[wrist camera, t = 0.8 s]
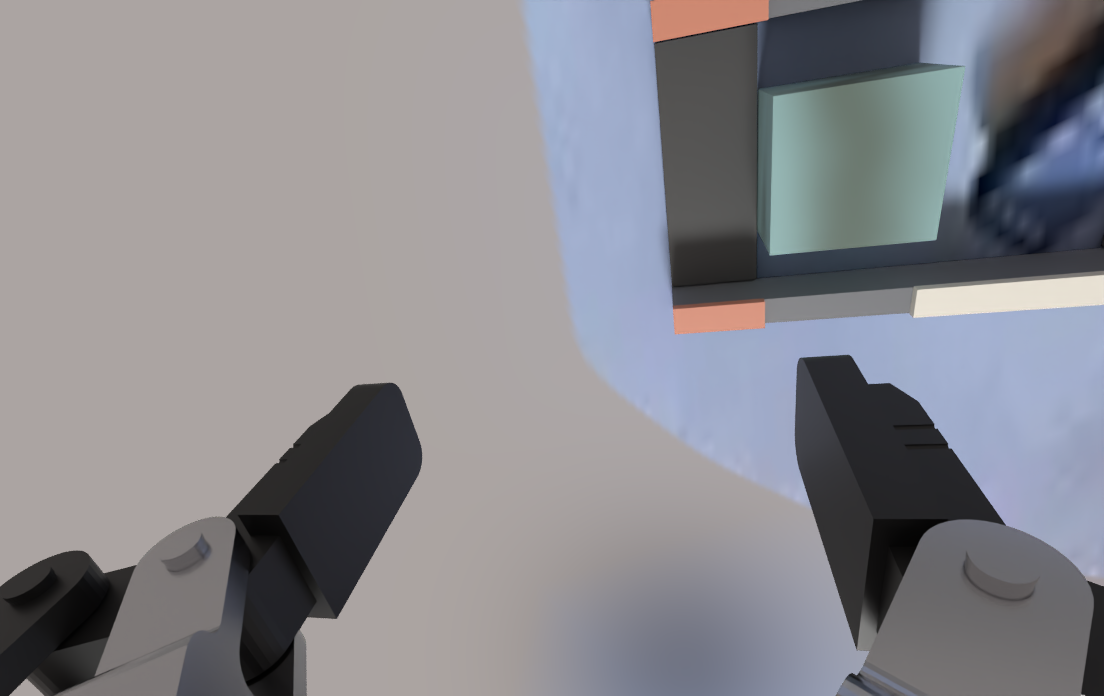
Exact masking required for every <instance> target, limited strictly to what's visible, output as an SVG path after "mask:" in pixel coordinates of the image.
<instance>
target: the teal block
mask: <svg viewBox="0 0 1104 696" xmlns="http://www.w3.org/2000/svg"><path fill="white" fill-rule="evenodd" d="M964 71H965V66H956V65H942V64H928V63H915V64H909V65H903V66H897V67H890V68H884V69H878V70H872V71H866V72H859V73H853V74H847V75H841V76H835V77H828V78H822V79H816V80H810V81H804V82H797V83H791V84H785V85H779V86H772V87H766V88H760V89H758V99H757V231H758V233H759V235H760V237H761V239H762V241H763V243H764V245H765V247H766V249H767V251H768V253H769V255H781V254H792V253H803V252H814V251H824V250H835V249H846V248H857V247H868V246H878V245H889V244H900V243H911V242H922V241H932V240H936V239H937V233H938V227H939V221H940V215H941V209H942V203H943V197H944V191H945V185H946V179H947V173H948V167H949V161H950V155H951V149H952V143H953V137H954V131H955V125H956V119H957V113H958V107H959V101H960V95H961V89H962V83H963V77H964Z"/></svg>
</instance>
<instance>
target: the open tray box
mask: <svg viewBox="0 0 1104 696" xmlns="http://www.w3.org/2000/svg"><path fill="white" fill-rule="evenodd" d="M857 1H862V0H654V1H650V3H651V17H652V31H653V42H658V41H663V40H668V39H673V38H678V37H683V36H688V35H694V34H699V33H704V32H709V31H714V30H719V29H724V28H729V27H735V26H740V25H745V24H750V23H755V22H760V21H765V20H768V19H770V18H775V17H780V16H785V15H790V14H795V13H800V12H805V11H810V10H816V9H821V8H826V7H831V6H836V5H841V4H846V3H851V2H857ZM654 45H655V58H656V72H657V86H658V99H659V113H660V127H661V140H662V154H663V168H664V181H665V195H666V209H667V222H668V236H669V250H670V264H671V277H672V293H673V315H674V329H675V334H686V333H700V332H715V331H729V330H744V329H758V328H765V323H773V322H787V321H801V320H815V319H829V318H843V317H857V316H871V315H885V314H900V313H910V315H911V316H912V317H913V318H918V317H932V316H947V315H961V314H976V313H990V312H1005V311H1019V310H1034V309H1048V308H1063V307H1077V306H1092V305H1104V248H1093V249H1082V250H1071V251H1059V252H1048V253H1037V254H1026V255H1015V256H1003V257H992V258H981V259H970V260H959V261H948V262H936V263H925V264H914V265H903V266H892V267H881V268H869V269H858V270H847V271H836V272H825V273H814V274H802V275H791V276H780V277H769V278H758V279H756V264H757V24H753V25H748V26H743V27H738V28H733V29H728V30H723V31H717V32H712V33H707V34H702V35H697V36H692V37H687V38H681V39H676V40H671V41H666V42H661V43H656V44H654ZM1101 246H1103V247H1104V237H1103V240H1102V244H1101Z"/></svg>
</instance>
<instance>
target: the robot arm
mask: <svg viewBox="0 0 1104 696" xmlns="http://www.w3.org/2000/svg"><path fill="white" fill-rule="evenodd" d="M795 446H796V455H797V461H798V465H799V469H800V473H801V476H802V479H803V482H804V485H805V489H806V492H807V495H808V498H809V501H810V504H811V508H812V511H813V514H814V517H815V520H816V523H817V526H818V529H819V532H820V536H821V539H822V542H823V545H824V548H825V552H826V555H827V558H828V561H829V564H830V567H831V570H832V574H833V577H834V580H835V583H836V586H837V589H838V593H839V596H840V599H841V602H842V605H843V608H844V611H845V614H846V618H847V621H848V624H849V627H850V630H851V633H852V637H853V640H854V643H855V646H856V649H857V650H860V651H870V652H869V654H868V656H867V658H866V660H865V663H864V665H863V667H862V668H861V670H860V672H859V674H858V675H857V676H856V675H855V674H853V673H851V674H849V675H848V676H847V678H846V679H845V680H844V682H843V683H842V685H841V687H840V688H839V690H838V692H837V694H836V696H1104V586H1100V585H1098V584H1095V583H1092V582H1089V581H1087V580H1086V579H1085V577H1084V576H1083V574H1082V573H1081V572H1080V571H1079V570H1078V568H1077V567H1076V566H1075V565H1074V564H1073V563H1072V562H1071V561H1070V560H1069V559H1067V558H1066V557H1065V556H1064V555H1063V554H1061V553H1060V552H1059V551H1057V550H1056V549H1055V548H1053V547H1051V546H1050V545H1048V544H1047V543H1045V542H1043V541H1042V540H1040V539H1038V538H1036V537H1034V536H1032V535H1030V534H1027V533H1025V532H1022V531H1020V530H1017V529H1015V528H1012V527H1009V526H1006V525H1005V523H1004V522H1003V521H1002V519H1001V518H1000V516H999V515H998V513H997V512H996V511H995V509H994V508H993V506H992V505H991V504H990V502H989V501H988V499H987V498H986V497H985V495H984V494H983V492H982V491H981V489H980V488H979V487H978V485H977V484H976V482H975V481H974V480H973V478H972V477H971V475H970V474H969V473H968V471H967V470H966V468H965V467H964V465H963V464H962V463H961V461H960V460H959V458H958V457H957V456H956V454H955V453H954V451H953V450H952V449H949V448H948V443H947V441H946V440H945V439H944V437H943V436H942V434H941V433H940V432H939V430H938V429H935V428H934V423H933V422H932V420H931V419H930V417H929V416H928V415H927V413H926V412H925V410H924V409H923V408H922V406H921V405H920V403H919V402H918V401H917V400H915V399H914V398H912V397H910V396H909V395H907V394H906V393H904V392H903V391H901V390H900V389H898V388H896V387H895V386H893V385H892V384H890V383H884V384H868V383H867V382H866V380H865V378H864V377H863V375H862V373H861V371H860V370H859V368H858V366H857V365H856V363H855V361H854V360H853V358H852V357H851V356H850V355H838V356H822V357H806V358H800V359H799V361H798V365H797V382H796V413H795ZM279 460H280V462H279V463H276V464H275V465H274V466H273V467H272V468H271V469H270V470H269V471H268V472H267V473H266V474H265V476H264V477H263V478H262V479H261V480H260V481H259V482H258V483H257V484H256V485H255V486H254V488H253V489H252V490H251V491H250V492H249V493H248V494H247V495H246V496H245V497H244V498H243V500H241V502H240V503H239V504H238V505H237V506H236V507H235V508H234V509H233V510H232V511H231V512H230V513H229V515H228V516H227V517H226V518H225V517H210V518H205V519H201V520H198V521H195V522H193V523H190V524H188V525H186V526H184V527H182V528H180V529H178V530H176V531H175V532H173V533H171V534H169V535H168V536H166V537H165V538H164V539H162V540H161V541H159V542H158V543H157V544H156V545H155V546H153V547H152V548H151V549H150V550H149V551H148V552H147V553H146V554H145V555H144V557H143V558H142V559H141V560H140V562H139V563H138V565H135V566H131V567H128V568H124V569H120V570H116V571H112V572H108V573H103V572H102V571H101V570H100V568H99V567H98V566H97V565H96V563H95V562H94V561H93V560H92V558H91V557H90V556H89V555H88V554H87V553H86V552H84V551H69V552H64V553H61V554H57V555H54V556H52V557H49V558H47V559H45V560H42V561H40V562H38V563H36V564H34V565H32V566H30V567H28V568H27V569H25V570H23V571H22V572H20V573H18V574H17V575H15V576H14V577H12V578H11V579H10V580H8V581H7V582H6V583H4V584H3V585H2V586H1V587H0V696H9V695H10V694H11V693H12V692H13V691H14V690H15V689H16V688H17V687H18V686H19V685H20V684H21V683H22V682H23V681H24V680H25V679H26V678H27V679H28V680H29V681H30V682H31V683H32V684H33V685H34V686H35V687H36V688H37V689H38V690H39V691H40V692H41V693H42V694H43V695H44V696H307V693H306V692H307V688H306V686H307V684H306V683H307V682H306V641H305V638H304V636H303V634H302V633H301V631H300V628H301V626H302V624H303V623H304V621H305V620H306V618H307V617H315V618H331V619H337V617H338V616H339V614H340V612H341V610H342V609H343V607H344V605H345V603H346V602H347V600H348V598H349V596H350V595H351V593H352V591H353V589H354V587H355V586H356V584H357V582H358V580H359V579H360V577H361V575H362V573H363V572H364V570H365V568H366V566H367V565H368V563H369V561H370V559H371V557H372V556H373V554H374V552H375V550H376V549H377V547H378V545H379V543H380V542H381V540H382V538H383V536H384V535H385V533H386V531H387V529H388V527H389V526H390V524H391V522H392V521H393V519H394V517H395V515H396V514H397V512H398V510H399V508H400V506H401V505H402V503H403V501H404V499H405V498H406V496H407V494H408V492H409V491H410V489H411V487H412V485H413V484H414V482H415V480H416V478H417V476H418V474H419V472H420V469H421V464H422V449H421V445H420V441H419V439H418V436H417V433H416V431H415V428H414V425H413V422H412V420H411V417H410V414H409V411H408V409H407V406H406V403H405V400H404V398H403V395H402V392H401V390H400V389H399V387H398V386H397V385H396V384H394V383H380V384H379V383H378V384H363V385H356V386H354V387H353V388H352V389H351V390H350V391H349V392H348V393H347V394H346V395H345V396H344V397H343V398H342V400H341V401H340V402H339V403H338V404H337V405H336V406H335V407H334V408H333V410H332V411H331V412H330V413H329V414H327V415H326V416H324V417H323V418H321V419H320V420H318V421H317V422H316V423H314V424H313V425H311V426H310V427H309V428H308V429H307V430H306V431H305V432H304V433H303V435H301V437H300V438H299V439H298V440H297V441H296V442H295V443H294V444H293V448H290V449H289V450H288V451H287V452H286V453H285V454H284V455H283V456H282V457H281V458H280V459H279Z"/></svg>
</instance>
